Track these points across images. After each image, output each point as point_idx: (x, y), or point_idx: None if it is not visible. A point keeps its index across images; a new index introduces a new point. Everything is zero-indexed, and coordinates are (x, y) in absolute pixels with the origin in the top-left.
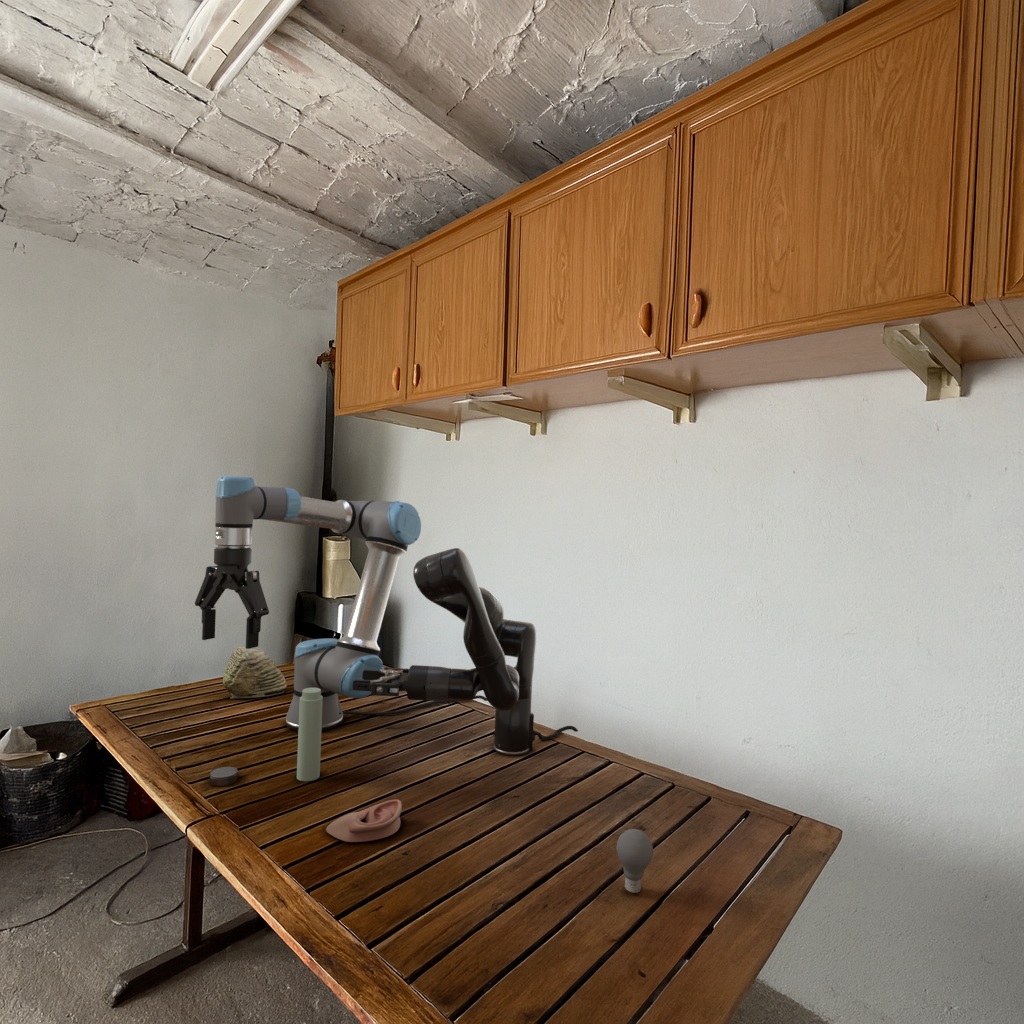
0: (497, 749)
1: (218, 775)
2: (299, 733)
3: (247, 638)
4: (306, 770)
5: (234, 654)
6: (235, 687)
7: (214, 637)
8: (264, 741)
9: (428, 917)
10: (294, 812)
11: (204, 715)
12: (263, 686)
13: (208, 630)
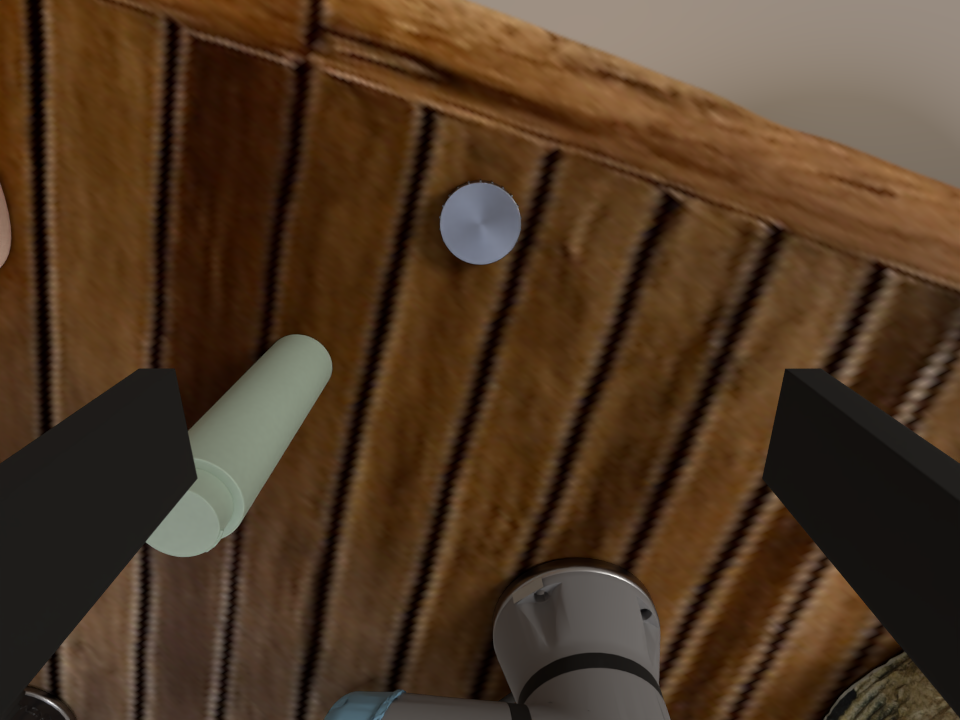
0: (31, 694)
1: (473, 197)
2: (259, 392)
3: (87, 415)
4: (268, 350)
5: None
6: None
7: (765, 478)
8: (597, 468)
9: None
10: (145, 184)
11: None
12: (875, 713)
13: (828, 458)
